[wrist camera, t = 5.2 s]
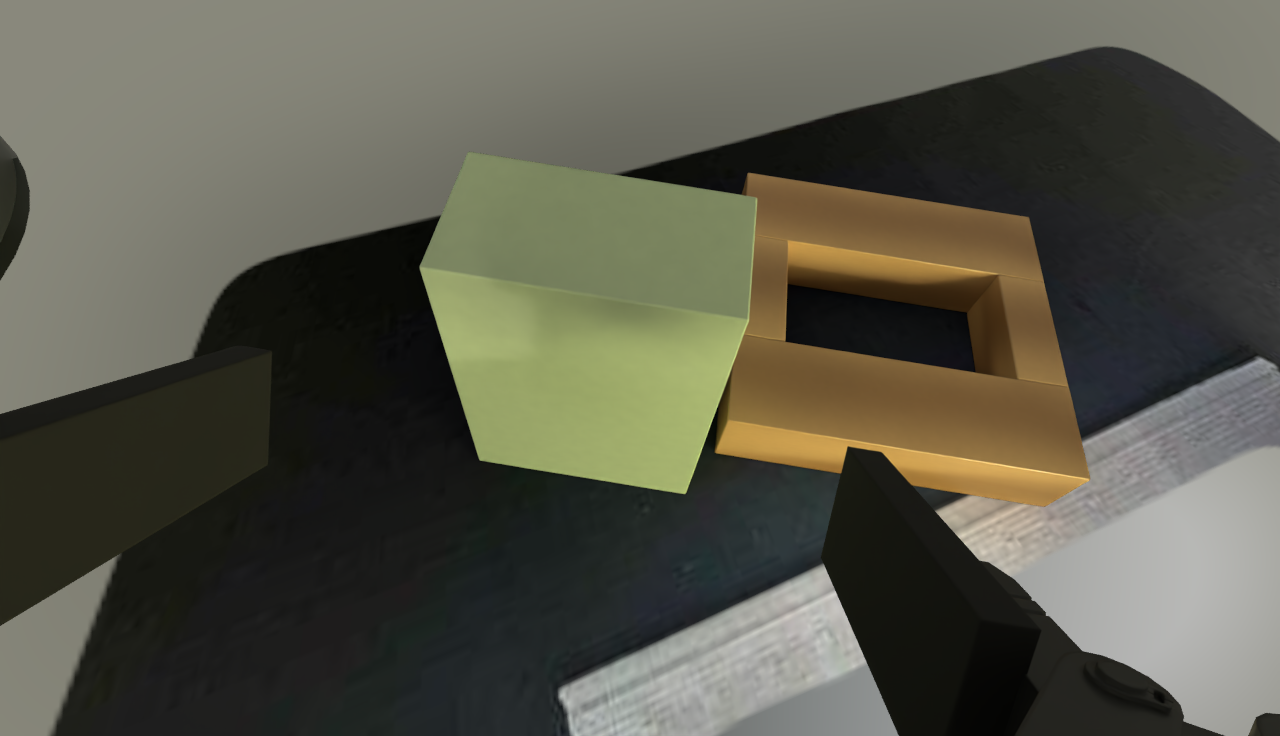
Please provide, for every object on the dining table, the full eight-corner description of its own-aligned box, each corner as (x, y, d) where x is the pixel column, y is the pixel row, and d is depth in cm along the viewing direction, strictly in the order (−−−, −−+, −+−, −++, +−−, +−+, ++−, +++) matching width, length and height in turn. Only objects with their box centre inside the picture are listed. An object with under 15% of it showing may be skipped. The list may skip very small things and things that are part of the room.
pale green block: (685, 495, 27) (749, 321, 17) (478, 460, 27) (417, 267, 17) (696, 399, 29) (757, 196, 19) (506, 368, 29) (467, 150, 19)
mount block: (1044, 507, 28) (1091, 480, 25) (714, 453, 28) (727, 420, 26) (997, 257, 35) (1029, 216, 33) (735, 215, 36) (747, 172, 33)
